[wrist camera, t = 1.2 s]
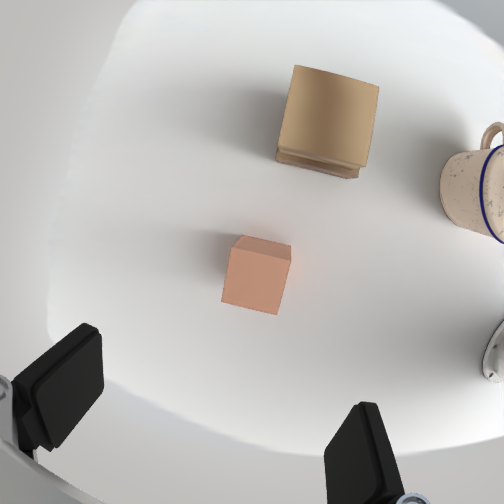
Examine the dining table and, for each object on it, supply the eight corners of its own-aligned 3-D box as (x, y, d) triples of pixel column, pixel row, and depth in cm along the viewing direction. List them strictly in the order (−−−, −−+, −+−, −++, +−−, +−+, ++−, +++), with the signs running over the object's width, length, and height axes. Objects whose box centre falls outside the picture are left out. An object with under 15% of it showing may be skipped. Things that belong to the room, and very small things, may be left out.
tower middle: (362, 104, 21) (379, 86, 16) (350, 169, 22) (365, 166, 18) (294, 86, 21) (294, 64, 17) (280, 152, 23) (277, 144, 18)
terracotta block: (290, 245, 30) (290, 260, 24) (279, 291, 31) (277, 315, 25) (242, 234, 30) (231, 247, 24) (233, 280, 31) (221, 301, 25)
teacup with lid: (486, 237, 26) (549, 261, 15) (429, 220, 27) (492, 240, 16) (498, 142, 23) (562, 135, 12) (443, 115, 24) (504, 91, 13)
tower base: (358, 114, 26) (371, 101, 21) (346, 178, 27) (357, 177, 23) (291, 97, 26) (291, 81, 21) (277, 162, 28) (275, 157, 23)
